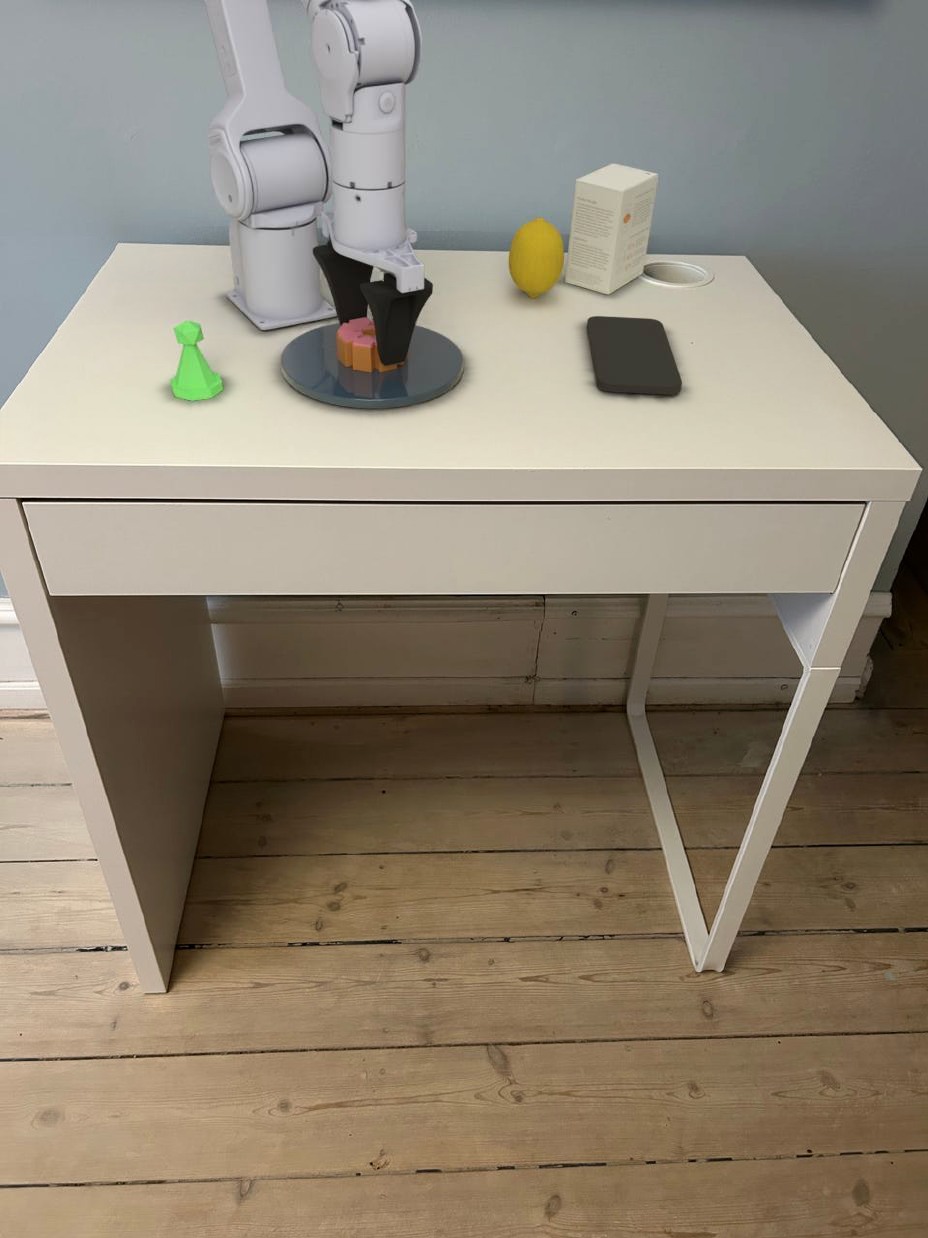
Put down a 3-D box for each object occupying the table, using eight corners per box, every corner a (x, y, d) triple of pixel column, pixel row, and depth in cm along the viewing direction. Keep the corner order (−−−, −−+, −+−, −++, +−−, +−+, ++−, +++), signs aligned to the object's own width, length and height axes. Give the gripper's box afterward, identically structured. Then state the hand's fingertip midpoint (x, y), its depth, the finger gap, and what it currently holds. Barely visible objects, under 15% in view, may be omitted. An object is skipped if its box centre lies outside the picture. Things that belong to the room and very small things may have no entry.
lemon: (556, 311, 96) (564, 229, 91) (501, 304, 97) (507, 223, 91) (562, 290, 100) (571, 211, 95) (510, 284, 101) (516, 205, 96)
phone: (661, 318, 93) (685, 388, 82) (660, 327, 94) (683, 396, 82) (586, 315, 93) (598, 383, 82) (585, 323, 94) (597, 392, 82)
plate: (253, 349, 86) (252, 339, 86) (408, 318, 93) (408, 308, 92) (329, 427, 76) (328, 416, 75) (497, 385, 83) (498, 375, 82)
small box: (599, 262, 107) (612, 161, 100) (644, 274, 104) (660, 172, 98) (562, 282, 102) (573, 177, 95) (608, 296, 99) (623, 189, 93)
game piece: (228, 378, 82) (219, 310, 78) (217, 401, 79) (208, 332, 75) (177, 376, 82) (166, 308, 78) (165, 399, 79) (152, 330, 75)
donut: (327, 350, 85) (325, 323, 83) (387, 337, 87) (386, 311, 86) (357, 377, 81) (356, 350, 79) (419, 363, 83) (419, 337, 82)
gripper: (460, 199, 71) (454, 368, 80) (372, 150, 81) (375, 306, 89) (376, 211, 68) (379, 385, 77) (294, 159, 78) (306, 320, 87)
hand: (372, 344), depth 83 cm, fingers open, 7 cm apart
